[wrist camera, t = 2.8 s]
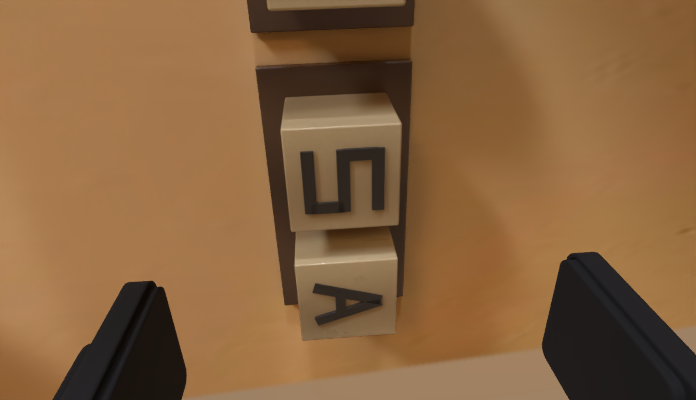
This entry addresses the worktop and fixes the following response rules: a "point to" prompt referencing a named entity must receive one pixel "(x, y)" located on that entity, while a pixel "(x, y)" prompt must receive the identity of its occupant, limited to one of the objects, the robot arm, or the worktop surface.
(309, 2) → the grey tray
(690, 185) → the worktop surface
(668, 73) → the worktop surface
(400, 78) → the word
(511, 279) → the worktop surface
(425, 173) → the worktop surface
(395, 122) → the tile
